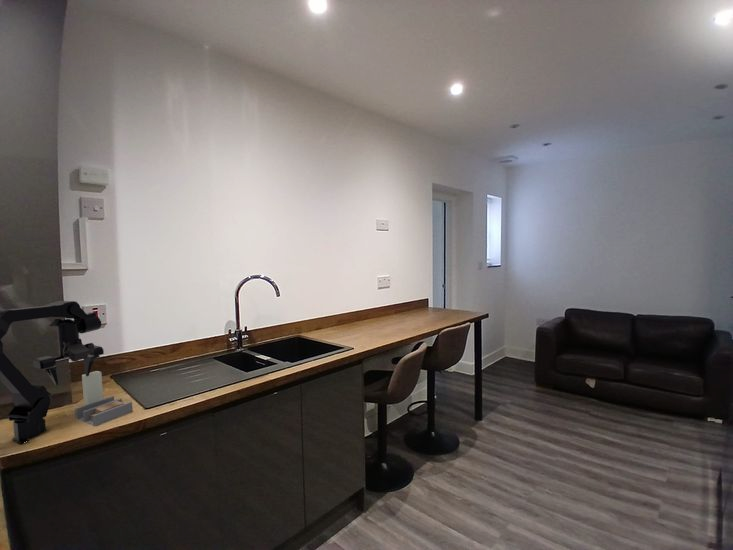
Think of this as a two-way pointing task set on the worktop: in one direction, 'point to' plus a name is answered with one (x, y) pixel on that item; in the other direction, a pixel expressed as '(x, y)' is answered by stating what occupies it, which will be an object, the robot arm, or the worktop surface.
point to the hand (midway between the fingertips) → (72, 380)
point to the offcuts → (106, 408)
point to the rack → (105, 416)
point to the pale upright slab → (92, 387)
